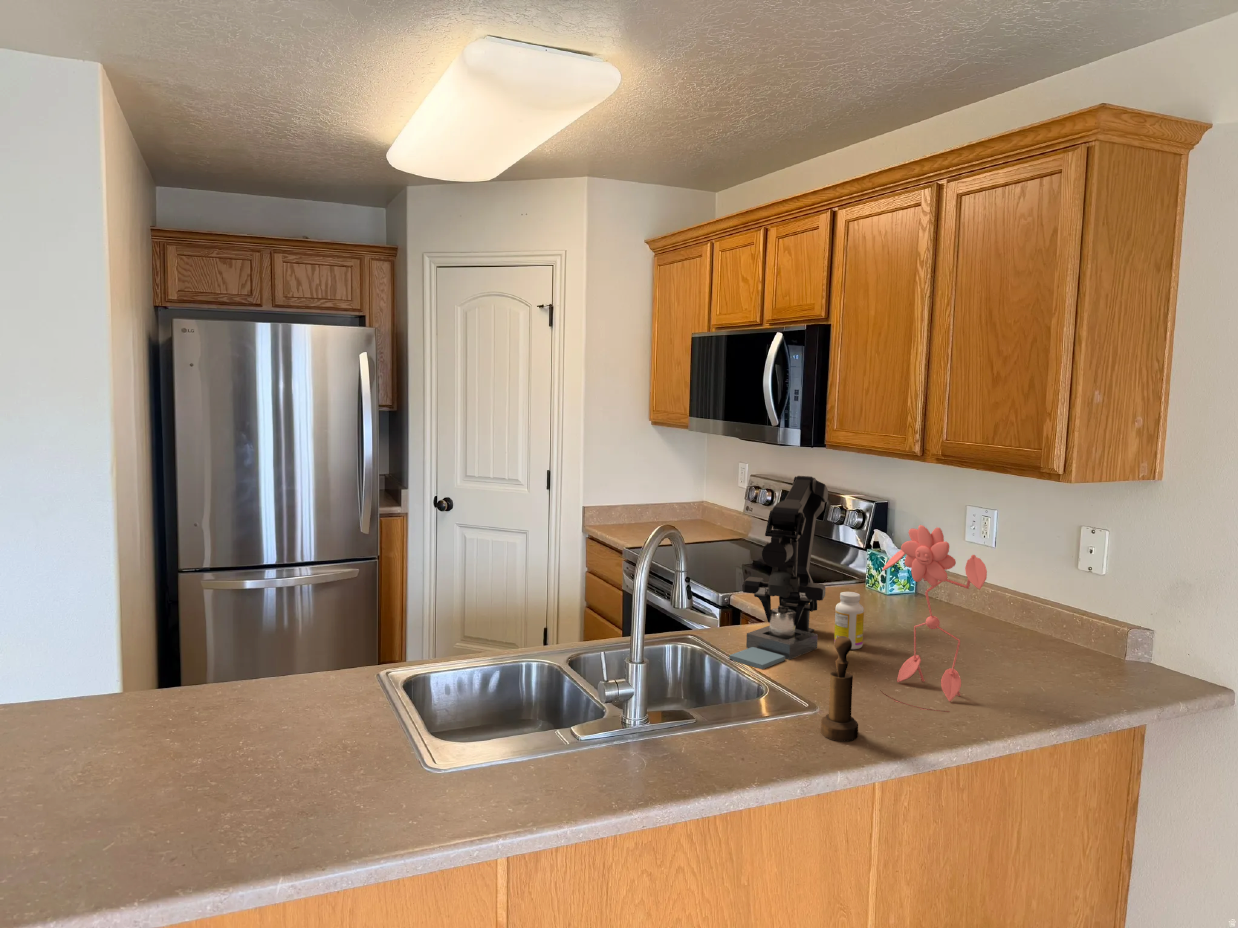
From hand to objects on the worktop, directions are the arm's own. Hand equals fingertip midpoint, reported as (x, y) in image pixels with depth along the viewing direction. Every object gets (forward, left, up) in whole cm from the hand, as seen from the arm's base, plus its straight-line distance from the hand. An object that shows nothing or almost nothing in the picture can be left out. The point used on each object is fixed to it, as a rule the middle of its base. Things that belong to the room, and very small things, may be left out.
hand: (782, 623), depth 200 cm
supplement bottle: (-13, +10, -6) cm, 18 cm away
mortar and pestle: (+35, +35, -6) cm, 50 cm away
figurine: (+5, +36, -6) cm, 37 cm away
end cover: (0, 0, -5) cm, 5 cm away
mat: (+12, +1, -6) cm, 13 cm away
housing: (0, 0, -6) cm, 6 cm away
